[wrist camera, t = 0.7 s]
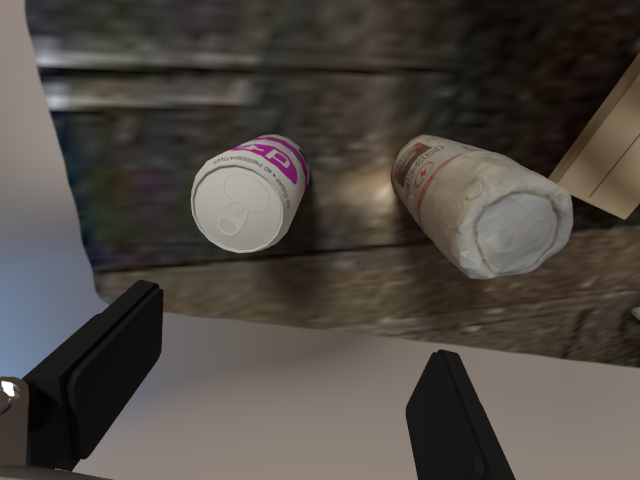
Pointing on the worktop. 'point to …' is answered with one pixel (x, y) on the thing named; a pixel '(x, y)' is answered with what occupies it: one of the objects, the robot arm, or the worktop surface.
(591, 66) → the worktop surface
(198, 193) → the supplement can
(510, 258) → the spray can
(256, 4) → the worktop surface
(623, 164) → the board
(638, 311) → the mug
